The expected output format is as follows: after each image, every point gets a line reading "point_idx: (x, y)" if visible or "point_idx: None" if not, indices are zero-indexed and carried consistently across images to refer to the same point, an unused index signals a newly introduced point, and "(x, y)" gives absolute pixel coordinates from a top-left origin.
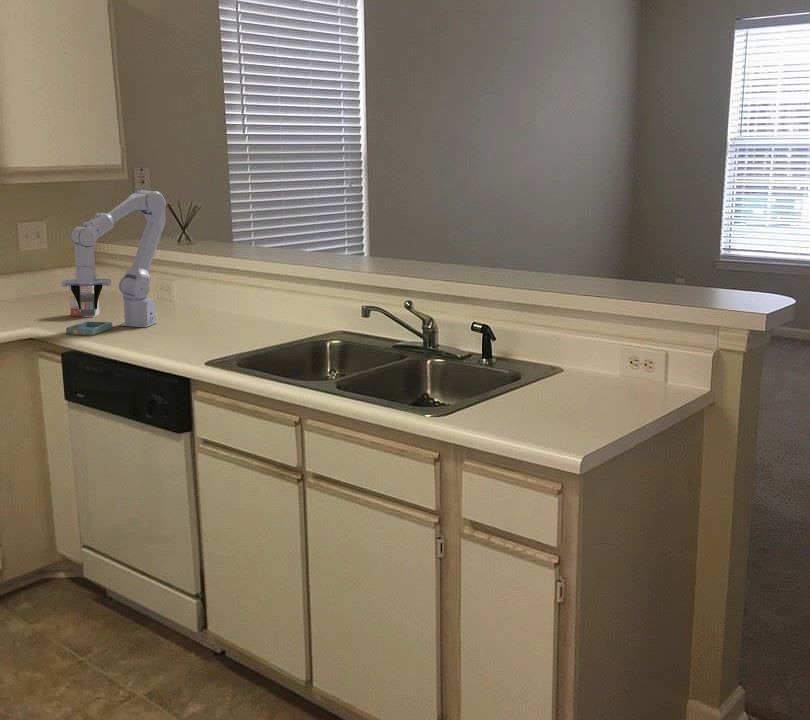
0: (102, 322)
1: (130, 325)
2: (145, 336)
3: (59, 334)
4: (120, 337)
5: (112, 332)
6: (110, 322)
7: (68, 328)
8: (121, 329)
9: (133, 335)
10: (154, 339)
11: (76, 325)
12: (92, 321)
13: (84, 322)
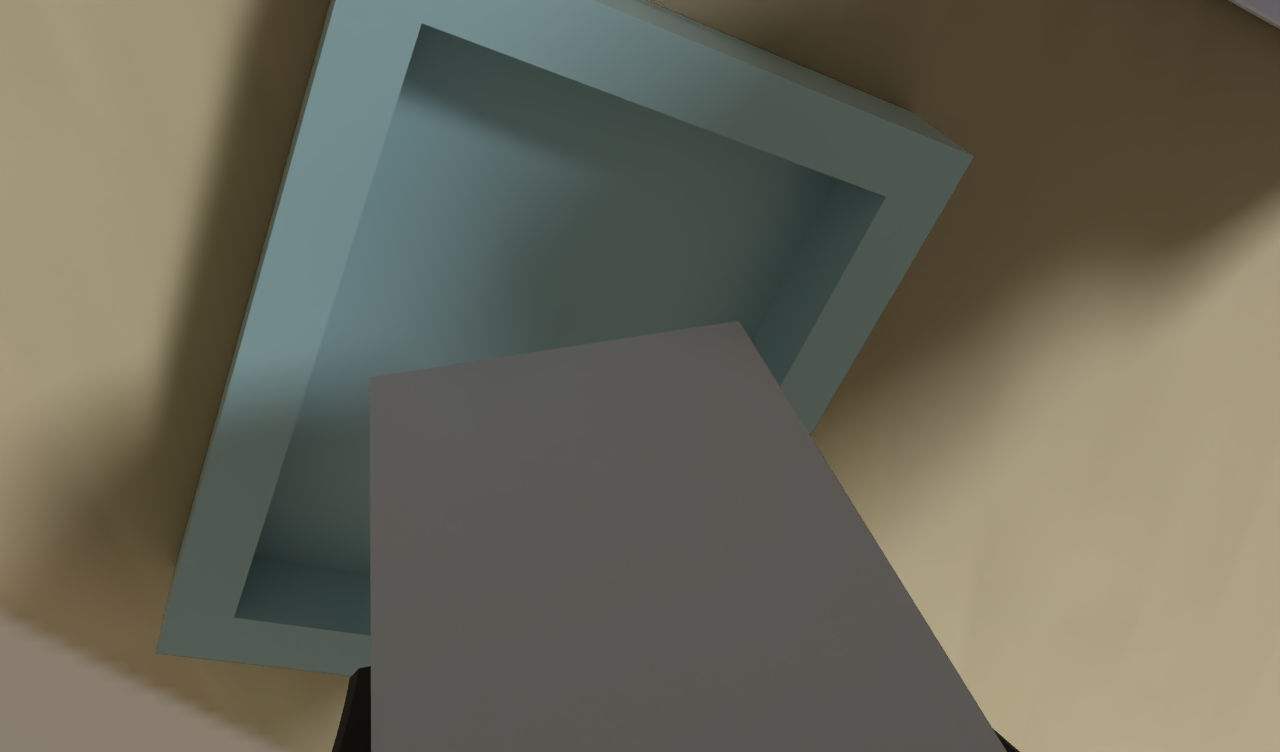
0: (785, 157)
1: (1260, 16)
2: (1226, 615)
3: (43, 575)
4: (960, 674)
5: (891, 425)
6: (944, 175)
7: (209, 653)
8: (1050, 208)
9: (1119, 578)
10: (1260, 718)
11: (285, 454)
12: (548, 22)
13: (373, 142)
